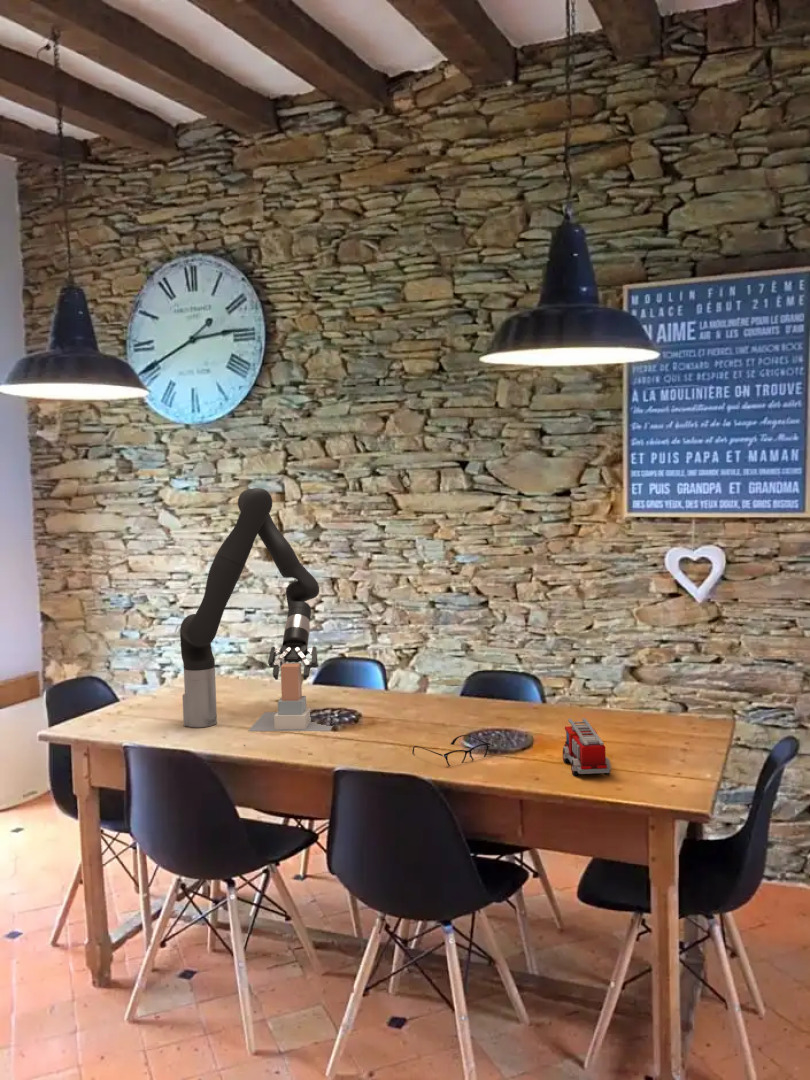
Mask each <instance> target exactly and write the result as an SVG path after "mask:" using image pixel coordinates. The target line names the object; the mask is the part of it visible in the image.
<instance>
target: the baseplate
mask: <svg viewBox="0 0 810 1080" xmlns="http://www.w3.org/2000/svg"><path fill="white" fill-rule="evenodd" d="M277 712H278V711H266V712H265V711H264V712H263V714H262V715H261V716H260V717H259V718H258V719H257V720H256V721H255V723H254V724H252V726H251V727H250V728H249V729H248V730H247V732H330V731H332V728H333V726H334V725H333V726H326V725H321V724H317V723H314V722H310V723H309V725H308V726H307V728H306V729H287V730H275V728H274V715H275V714H276V713H277Z"/></svg>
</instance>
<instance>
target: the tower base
mask: <svg viewBox="0 0 810 1080" xmlns="http://www.w3.org/2000/svg"><path fill="white" fill-rule="evenodd" d="M276 712H277V713H276V714H275V715H274V728H275V730H287V729H306V728H307V726H308V725H309V723H310V722H311V717H310V712H311V708H310V707H309V708H307V695H302V697H301V698H300V700H299V701H282V696H281V697H280V698H279V699H278V701H277V711H276Z"/></svg>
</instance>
